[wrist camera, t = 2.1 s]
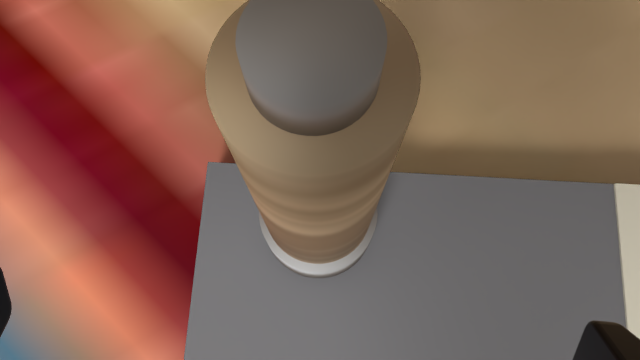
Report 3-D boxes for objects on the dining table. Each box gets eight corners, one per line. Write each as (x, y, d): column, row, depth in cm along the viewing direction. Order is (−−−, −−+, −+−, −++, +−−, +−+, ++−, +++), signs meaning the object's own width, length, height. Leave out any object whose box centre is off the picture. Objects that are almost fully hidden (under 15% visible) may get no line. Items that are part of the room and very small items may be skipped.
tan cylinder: (370, 281, 18) (448, 175, 7) (260, 274, 18) (156, 159, 7) (373, 176, 19) (447, -71, 8) (269, 170, 19) (192, -81, 8)
